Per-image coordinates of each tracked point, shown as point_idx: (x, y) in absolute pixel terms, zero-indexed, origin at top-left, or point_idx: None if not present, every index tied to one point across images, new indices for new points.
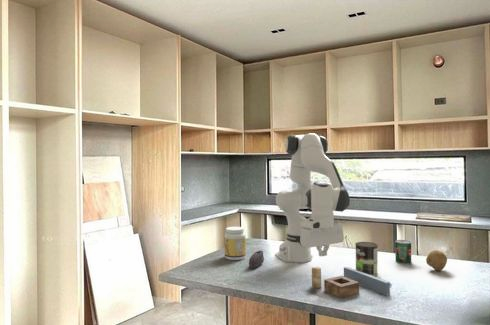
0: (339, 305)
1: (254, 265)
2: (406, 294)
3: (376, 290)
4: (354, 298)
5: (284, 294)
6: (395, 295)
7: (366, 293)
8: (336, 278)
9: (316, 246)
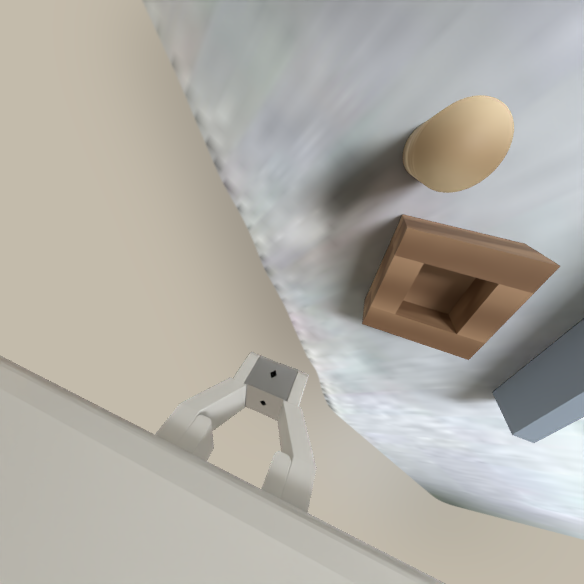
0: (310, 315)
1: None
2: None
3: (525, 368)
4: None
5: (235, 118)
6: None
7: None
8: (471, 267)
9: (171, 416)
